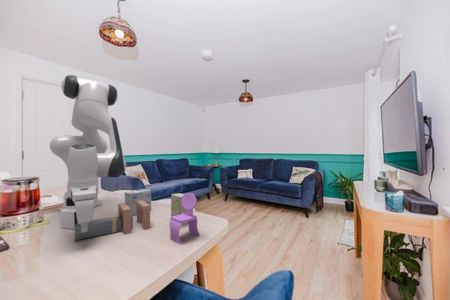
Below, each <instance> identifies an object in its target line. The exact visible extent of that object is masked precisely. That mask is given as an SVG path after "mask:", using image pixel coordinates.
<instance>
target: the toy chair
mask: <svg viewBox="0 0 450 300" xmlns="http://www.w3.org/2000/svg"><path fill="white" fill-rule="evenodd" d="M184 194H185V195H183V196H182V199H181V201H182V206H183V207H184V208H185V209H186V213H182V214H180V215H176V216H172V217H171V216H170V220H169V233H170V234H169V235H170V237H169V238H170V240H172V241H174V242H177V243H178V244H181V245H182V244H183V243H182V241H181V238H180V235H179V234H180V230H181V228H182V226H181V225H182V224H184V223H186V222H187V225H188V232H189V233H191V234H194V235H196V236H199V237H200V236H201V234H200V232H199V229H198V221H199V220H198V219H197V216H198V215H194V208H196V206H197V205H198V202H197V198H196V196H195V194H194V193H190V192H187V193H184Z"/></svg>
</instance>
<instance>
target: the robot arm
mask: <svg viewBox="0 0 450 300" xmlns="http://www.w3.org/2000/svg"><path fill="white" fill-rule="evenodd" d="M61 90H62V94H63V95H64V96H65V97H66V98H69V99H70V100H74V104H73V109H72V116H71V120H70V122H71V125H72V127H73V128H74V129H76V130H78V131H80V132H81V133H82V135H68V134H67V135H66V134H65V135H58V136H54V137H53V138H52V139H51V141H50V143H49V149H50V151H51V153H52V154H54V155H55V156H56V157H58V158H60V159H61V160H62V161H63V162H64V164H65V166H66V168H67V176H68V177H67V179H68V180H67V185H66V186H67V187H66V188H67V190H66V192H64V194H63V201H62V203H63V205H62V206H60V207H59V208H58V211H59V212H60V211H61V210H63V209H67V208H66V199H67V198H68V197H70V198H71V199H72V201H74V203H75V209H76V215H77V221H78V224H81V232H82V233H84V232H87V231H88V223H90V222H92V220H93V218H94V209H95V207H98V206H100V205H102V201H100V200H99V194H100V193H99V178H119V177H120V176H122V175H123V174H124V173H125V172H126V169H127V161H126V158H125V156H124V155H125V154H124V152H123V149H122V148H123V147H122V142H121V137H120V131H119V128H118V123H117V120H116V118H114V117H113V116H111V115H110V113H109V107H111V106H113V105H115V103H116V102H117V100H118V95H119V94H118V89H117V88H116V87H115V86H113V85H111V84H107V83H105V82H102V81H99V80H96V79H90V78H86V77H80V76H77V75H72V74H71V75H70V74H69V75H65V77H64V78H63V80H62V81H61ZM99 131H101V132H102V133H103V132H104V133H105V134H107V135H108V137H109V144H110V149H111V151H110V152H107V150H108V143H107V141H106V140H105V138H103V137H102V136H101V135H100V133H99ZM106 152H107V153H106Z"/></svg>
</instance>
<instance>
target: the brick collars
mask: <svg viewBox="0 0 450 300" xmlns="http://www.w3.org/2000/svg"><path fill="white" fill-rule="evenodd" d="M117 212H118V214H117V215H118V216H123V231H122V234H123V235H126V234H131V233H132V229H131V208H129V207H128V206H127V205H126V204H125V202H122V203H118V205H117ZM118 216H117V217H118ZM135 216H136V223H137V224H138V223H142V224H141V225H142V229H143V230H147V229H150V228H151V211H150V205H149V204H147V203H146V202H144V201H143V200H140V201H136V215H135Z"/></svg>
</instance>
